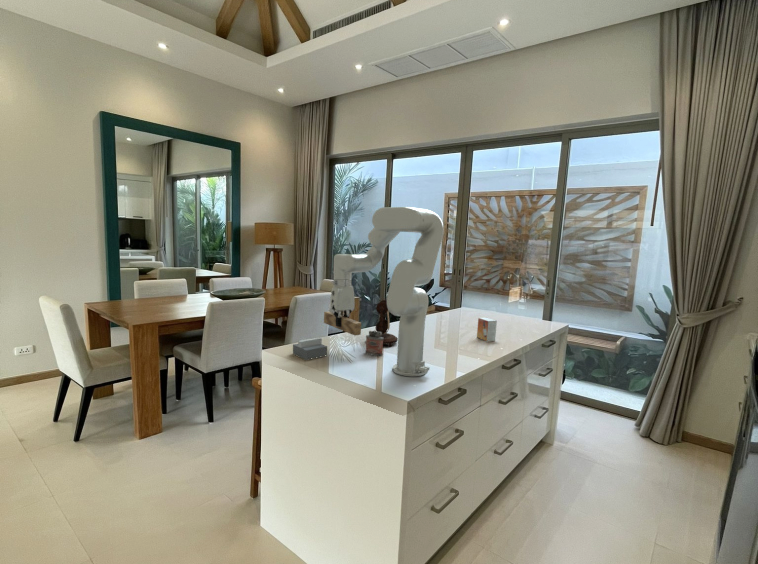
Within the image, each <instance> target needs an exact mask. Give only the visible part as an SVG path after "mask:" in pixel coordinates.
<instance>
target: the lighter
mask: <svg viewBox="0 0 758 564" xmlns="http://www.w3.org/2000/svg"><path fill="white" fill-rule="evenodd" d="M379 335H382V332H378V331H376V329H374V330H369V331H368V334H367V335H365V338H366V341H365V345H366V346H365V352H364V353H365V354H368V355H370V354H372V355H371V356H375V357H376V356H378V357H382V356H383V355H384V353H383V348H384V347H383V346H384V344H383V339H384V338H383V337H379Z"/></svg>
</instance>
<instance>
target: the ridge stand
mask: <svg viewBox="0 0 758 564" xmlns="http://www.w3.org/2000/svg"><path fill="white" fill-rule="evenodd" d="M297 342H298V343H294V344H292V354H293V355H294V354H295V355H294V356H296V355H297V357H298V356H299V358H300V357H301V358H300V359H302V358H303V360H305V361H308V359H310V360H312V359H311V358H315V359H317V358H316V357H319V358H321V357H320V356H324V357H326V356H325V355H327V356H328V346H327V345H325V344H323V343H322V342H323V338H322V337H313V338H307V339H301V340H298V341H297Z"/></svg>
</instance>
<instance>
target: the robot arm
mask: <svg viewBox="0 0 758 564" xmlns="http://www.w3.org/2000/svg"><path fill="white" fill-rule="evenodd" d="M371 223H372V225H373V228H372V229H371V230H370V231H369V233H368V235H367V238H368V241H369V243H370V244H371V247H370V248H369V250H367V252H365V253H356V254H355V253H352V254H348V253H337V254H335V255H334V256H333V280H332V281H331V285H333V286H332V288H331V293H330V303H329V304H330V307H329V310H328V311H329V312H330V313H332V314H333V315H334V316H335V317H336V326H338V327H341V318H340V317H341V316H344V317H346V318H350V315H351V313H352V312H353V311H354V310H355V305H356V301H355V291H354V286H353V285H352V276H353V275H352V274H354V273H355V274H356V273H367V272H370V271H372V270H373V269H375V268H376V266H377V265H378V264H380V262H381V261H382V260H383V258H384V255H385V251H386V247H388V246H389V245H390V243H391V242H393V240H394V239H395V238H396V237H397V236H398V235H399V234H400V233H402V232H403V233H415V234H416V233H420V234H421V235H420V237H419V238H418V240H417V242H416V243H415V245H414V251H413V254H412V257H411V259H404V260H402V261H401V260H400V262H399V263H398V264H396V266H395V267H394V269H393V272H392V275H391V280H390V283H389V287H388V292H387V297H386V301H387V308H388V310H389V314H391V315H393V316H395V317H400V318H399V321H398V322H399V323H398V336H397V338H398V339H397V340H398V341H397V355H396V357H397V359H396V364H394V365H392V372H393V373H394V374H397V375H400V376H405V377H421V376H424V375H426V374H428V373H429V371H430V367H429V366H427V365H425V364H426V362H425V360H423V359H424V345H425V344H424V343H425V326H426V318H427V317H426V316H427V313H428V309H429V296H428V294H427V292H426V291H425V290H424V289H423V288H420V287H421V286H424V285H427V284H429V283H430V282H431V280H432V278H433V275H434V274H433V273H434V270H435V266H436V263H437V261H438V260H437V259H438V255H439V252H440V248H441V244H442V242H443V238H444V234H445V230H444V228H445V227H444V223H443V220H442V219H441V217H440V216H439V215H438V214H437V213H436V212H434V211H433V210H430V209H426V208H420V207H411V206H396V207H395V206H391V207H388V206H386V207H385V206H384V207H383V206H382V207H380V208H378V209H377V210H376V211H374V213H373V215H372V217H371ZM342 312H343V313H342ZM341 313H342V314H343V315H341Z"/></svg>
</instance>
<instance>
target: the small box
mask: <svg viewBox="0 0 758 564" xmlns="http://www.w3.org/2000/svg"><path fill="white" fill-rule="evenodd" d="M497 322H498V321H497V320H495V319H492V318H488V317H478V320H477V330H476V332H477V333H476V338H477V337H478V338H477V339H480V340H482V339H483V341H485V342H494V340H495V341H496V333H497V324H498V323H497Z"/></svg>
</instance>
